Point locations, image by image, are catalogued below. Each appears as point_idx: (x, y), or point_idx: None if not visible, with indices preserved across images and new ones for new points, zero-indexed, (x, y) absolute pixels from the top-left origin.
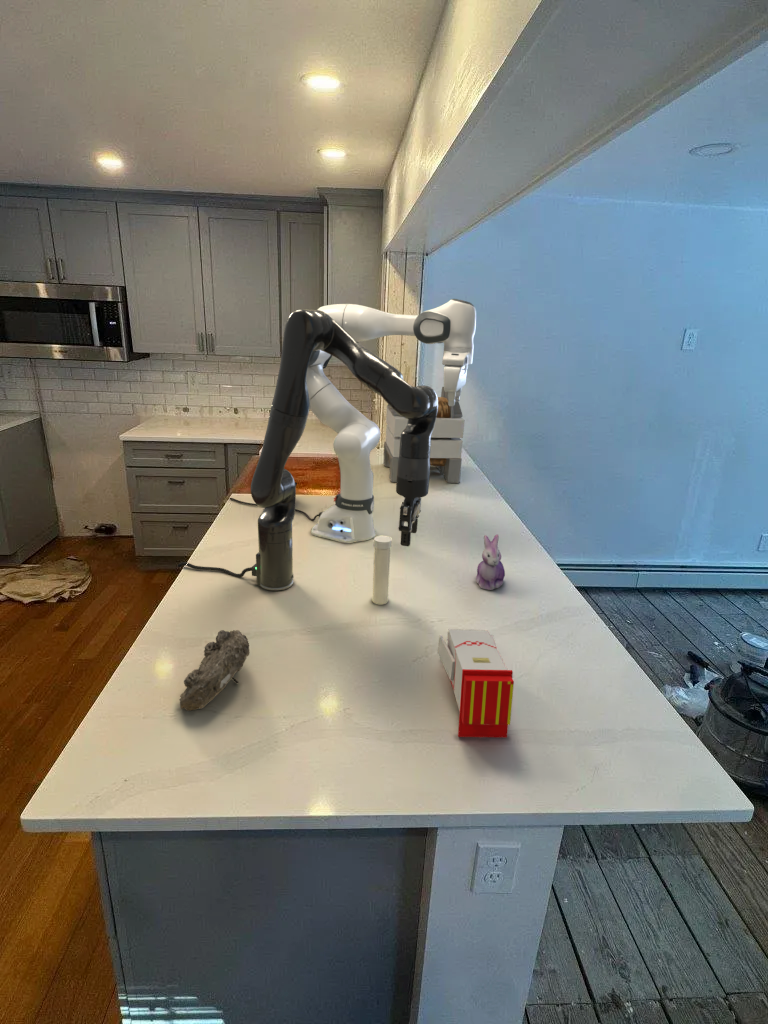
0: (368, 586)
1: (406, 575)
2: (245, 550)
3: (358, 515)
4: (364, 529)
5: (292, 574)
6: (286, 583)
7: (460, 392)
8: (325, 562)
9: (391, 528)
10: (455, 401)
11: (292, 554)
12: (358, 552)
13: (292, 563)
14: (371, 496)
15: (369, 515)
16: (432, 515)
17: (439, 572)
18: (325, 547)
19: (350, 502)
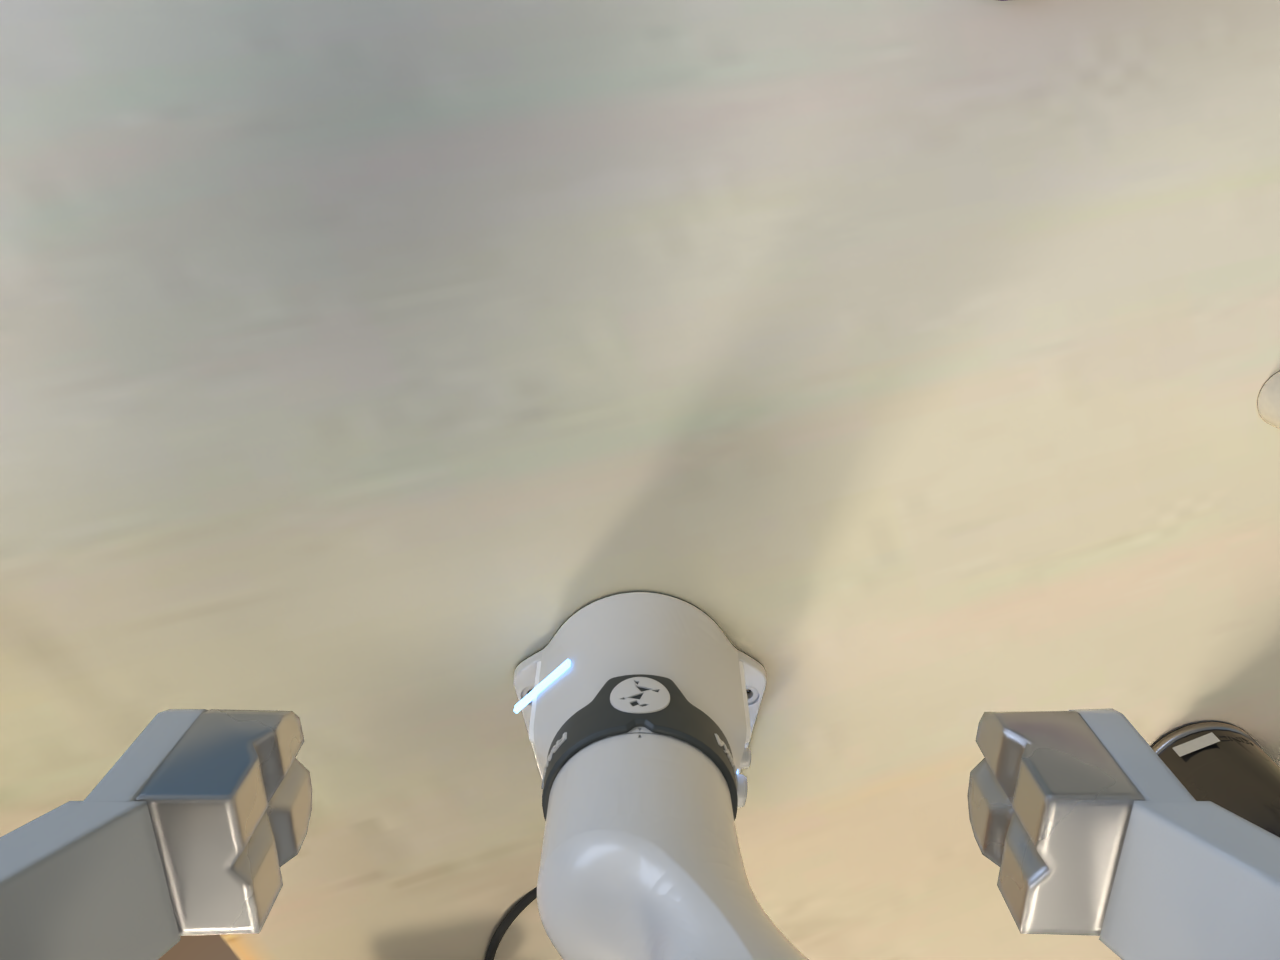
0: (1165, 473)
1: (1028, 351)
2: (943, 951)
3: (722, 719)
4: (702, 650)
5: (1221, 749)
6: (1250, 741)
7: (17, 877)
8: (977, 687)
9: (499, 549)
10: (308, 773)
11: (1268, 807)
12: (840, 604)
13: (1246, 780)
14: (648, 737)
15: (667, 675)
16: (199, 396)
17: (960, 208)
18: (830, 733)
19: (737, 801)
